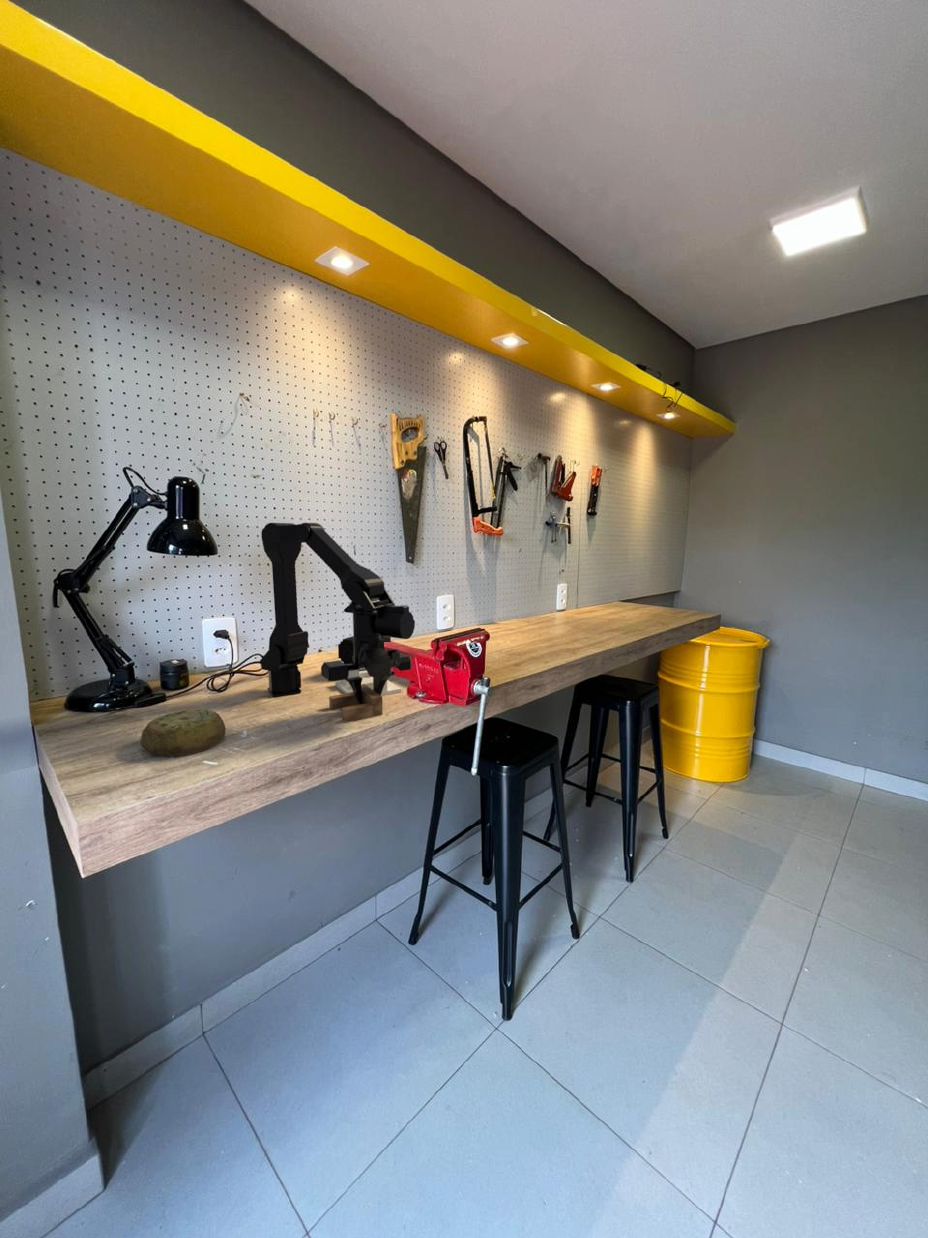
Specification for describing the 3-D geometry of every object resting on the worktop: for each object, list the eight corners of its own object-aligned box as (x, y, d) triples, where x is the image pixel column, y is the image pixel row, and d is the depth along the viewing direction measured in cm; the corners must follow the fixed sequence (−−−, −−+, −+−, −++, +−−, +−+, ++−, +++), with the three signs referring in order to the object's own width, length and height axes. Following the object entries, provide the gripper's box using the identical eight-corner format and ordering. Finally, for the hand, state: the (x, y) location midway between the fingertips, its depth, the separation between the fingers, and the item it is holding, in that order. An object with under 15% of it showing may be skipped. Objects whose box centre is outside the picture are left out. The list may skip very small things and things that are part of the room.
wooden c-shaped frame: (353, 700, 113) (353, 685, 112) (335, 685, 123) (334, 672, 123) (401, 692, 119) (401, 678, 118) (379, 678, 130) (379, 665, 129)
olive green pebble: (167, 728, 96) (164, 704, 95) (237, 727, 97) (236, 703, 96) (125, 760, 83) (121, 732, 82) (207, 759, 84) (205, 731, 83)
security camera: (396, 662, 145) (396, 629, 144) (358, 679, 129) (357, 641, 127) (377, 659, 148) (376, 627, 147) (337, 675, 132) (336, 639, 130)
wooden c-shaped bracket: (345, 722, 100) (344, 703, 99) (329, 707, 108) (328, 689, 107) (382, 714, 104) (382, 696, 104) (364, 701, 113) (364, 684, 112)
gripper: (336, 646, 93) (339, 724, 96) (423, 636, 103) (423, 707, 106) (319, 636, 102) (321, 707, 105) (400, 627, 112) (401, 693, 115)
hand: (368, 704), depth 108 cm, fingers open, 3 cm apart
